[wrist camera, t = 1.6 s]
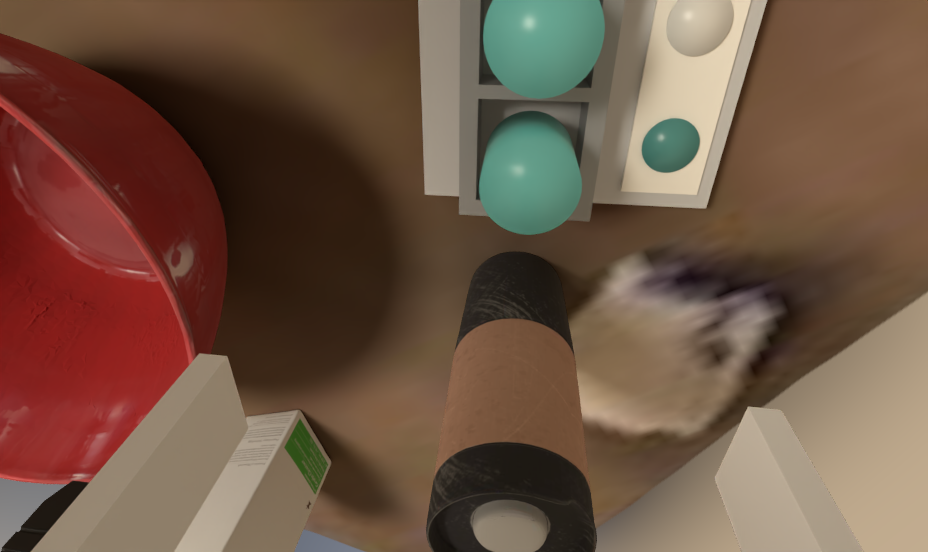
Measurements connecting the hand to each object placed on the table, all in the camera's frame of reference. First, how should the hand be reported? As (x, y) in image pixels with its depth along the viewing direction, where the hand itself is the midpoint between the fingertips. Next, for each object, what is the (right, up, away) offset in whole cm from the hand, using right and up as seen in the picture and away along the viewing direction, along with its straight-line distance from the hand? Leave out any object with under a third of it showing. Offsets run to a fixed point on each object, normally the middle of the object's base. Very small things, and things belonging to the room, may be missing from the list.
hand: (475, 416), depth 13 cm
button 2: (+3, +16, +11) cm, 20 cm away
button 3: (+3, +10, +14) cm, 18 cm away
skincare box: (-18, -13, +38) cm, 44 cm away
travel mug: (+4, +3, +26) cm, 26 cm away
